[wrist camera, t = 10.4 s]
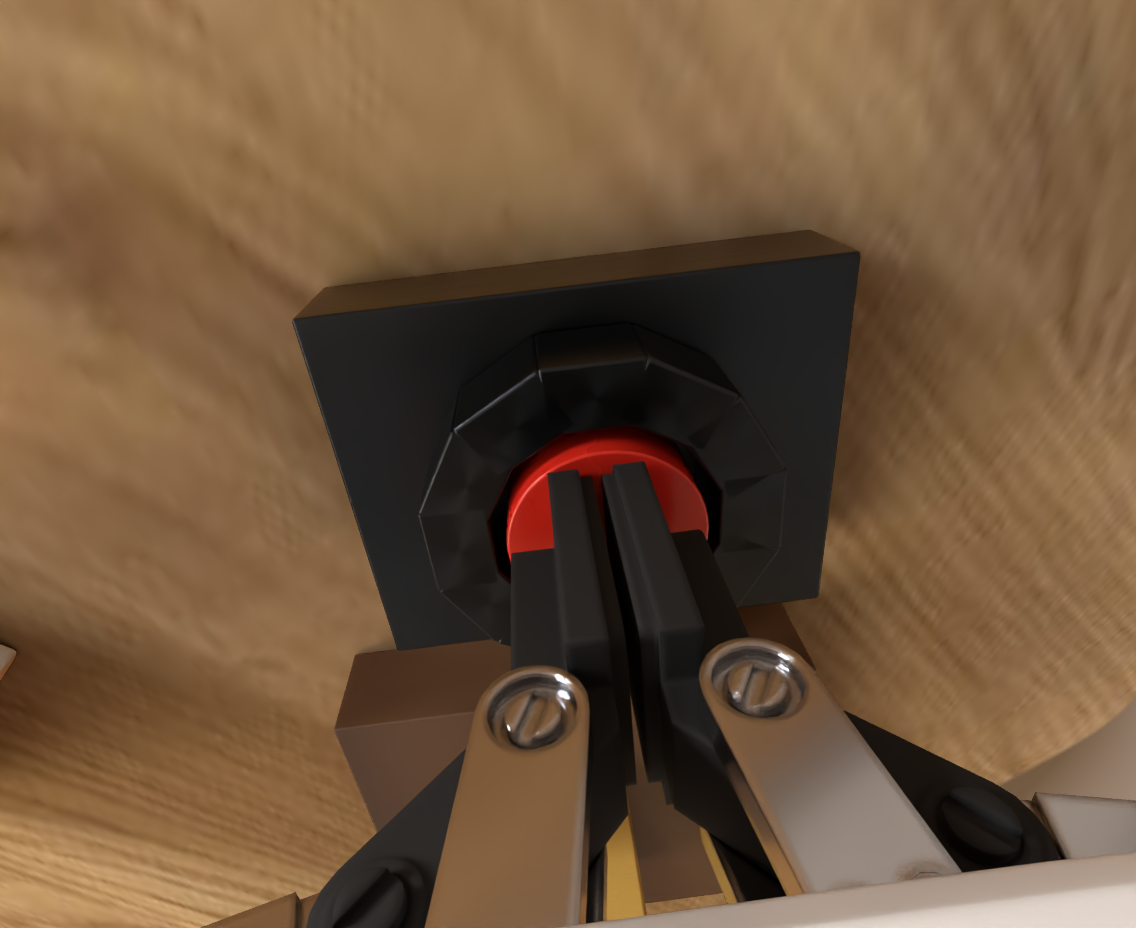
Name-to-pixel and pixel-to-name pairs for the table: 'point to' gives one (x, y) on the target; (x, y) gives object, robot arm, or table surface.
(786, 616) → the plate
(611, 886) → the yellow block
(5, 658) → the small box
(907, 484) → the table surface
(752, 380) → the button box
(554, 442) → the button
